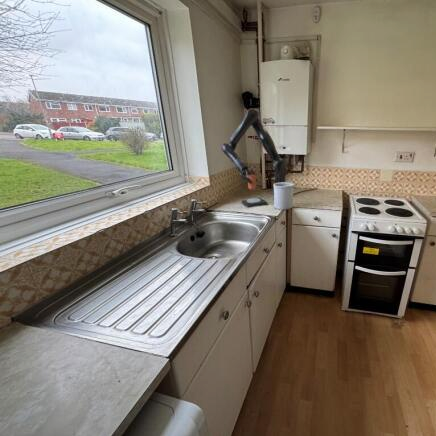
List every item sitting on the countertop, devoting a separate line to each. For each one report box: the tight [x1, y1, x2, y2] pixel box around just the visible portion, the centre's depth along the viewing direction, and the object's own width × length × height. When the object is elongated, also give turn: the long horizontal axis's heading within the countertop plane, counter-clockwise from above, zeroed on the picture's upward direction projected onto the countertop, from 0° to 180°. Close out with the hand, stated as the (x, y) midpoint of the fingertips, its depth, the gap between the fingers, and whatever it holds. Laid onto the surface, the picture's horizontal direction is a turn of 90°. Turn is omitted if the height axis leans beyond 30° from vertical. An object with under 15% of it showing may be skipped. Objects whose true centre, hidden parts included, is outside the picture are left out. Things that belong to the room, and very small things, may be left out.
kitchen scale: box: [241, 197, 268, 208], centre depth 184 cm, size 16×14×3 cm
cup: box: [247, 174, 257, 190], centre depth 175 cm, size 6×6×10 cm
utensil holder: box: [272, 181, 294, 211], centre depth 172 cm, size 15×15×18 cm
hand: (253, 182), depth 174 cm, fingers closed on cup, 6 cm apart
